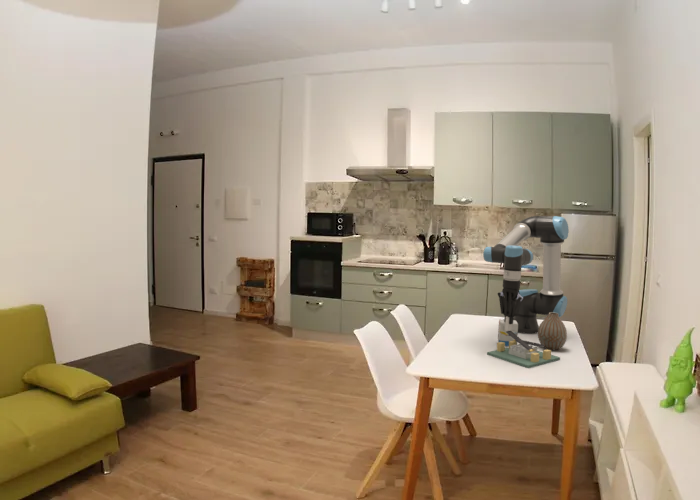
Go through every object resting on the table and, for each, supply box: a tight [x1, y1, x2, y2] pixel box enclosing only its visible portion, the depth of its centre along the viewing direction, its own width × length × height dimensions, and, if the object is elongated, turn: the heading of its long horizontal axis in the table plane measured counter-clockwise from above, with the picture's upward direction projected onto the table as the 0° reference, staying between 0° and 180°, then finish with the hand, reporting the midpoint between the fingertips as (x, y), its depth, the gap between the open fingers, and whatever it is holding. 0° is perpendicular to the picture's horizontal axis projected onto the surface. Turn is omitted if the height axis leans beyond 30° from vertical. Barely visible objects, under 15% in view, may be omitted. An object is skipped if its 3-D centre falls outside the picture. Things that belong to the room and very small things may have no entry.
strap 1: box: [506, 331, 535, 352], centre depth 216 cm, size 3×14×1 cm, turn 34°
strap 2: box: [513, 339, 544, 348], centre depth 222 cm, size 3×14×1 cm, turn 34°
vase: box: [537, 312, 568, 351], centre depth 235 cm, size 13×13×18 cm
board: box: [486, 341, 561, 369], centre depth 219 cm, size 23×22×5 cm
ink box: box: [497, 318, 519, 347], centre depth 241 cm, size 8×8×12 cm
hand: (508, 330), depth 221 cm, fingers closed
